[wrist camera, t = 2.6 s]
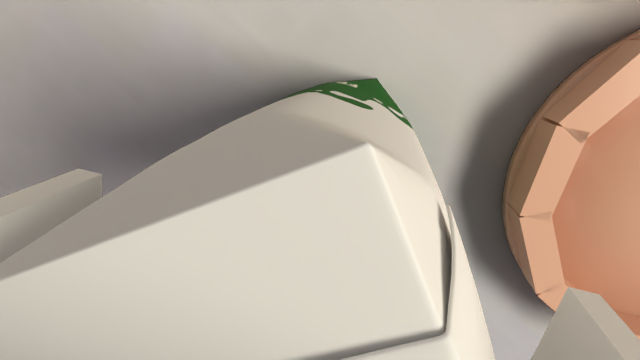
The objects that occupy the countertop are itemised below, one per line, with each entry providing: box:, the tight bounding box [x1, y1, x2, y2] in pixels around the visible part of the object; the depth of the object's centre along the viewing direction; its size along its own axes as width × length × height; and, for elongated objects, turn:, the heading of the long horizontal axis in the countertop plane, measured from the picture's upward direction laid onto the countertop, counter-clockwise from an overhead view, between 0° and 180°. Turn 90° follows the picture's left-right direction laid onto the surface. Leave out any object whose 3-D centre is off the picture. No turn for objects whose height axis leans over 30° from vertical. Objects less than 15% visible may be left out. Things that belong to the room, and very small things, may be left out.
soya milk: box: [0, 79, 496, 360], centre depth 13 cm, size 9×9×20 cm
